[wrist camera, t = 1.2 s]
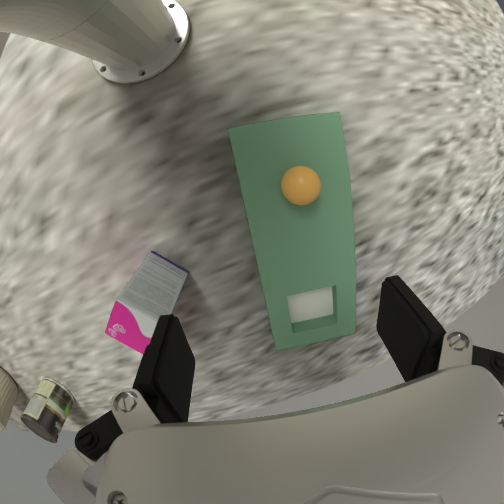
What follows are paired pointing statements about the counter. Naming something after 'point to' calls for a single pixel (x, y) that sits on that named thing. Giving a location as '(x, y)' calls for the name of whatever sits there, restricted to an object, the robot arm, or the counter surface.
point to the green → (300, 226)
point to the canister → (6, 398)
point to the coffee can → (48, 409)
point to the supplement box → (145, 301)
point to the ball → (300, 185)
